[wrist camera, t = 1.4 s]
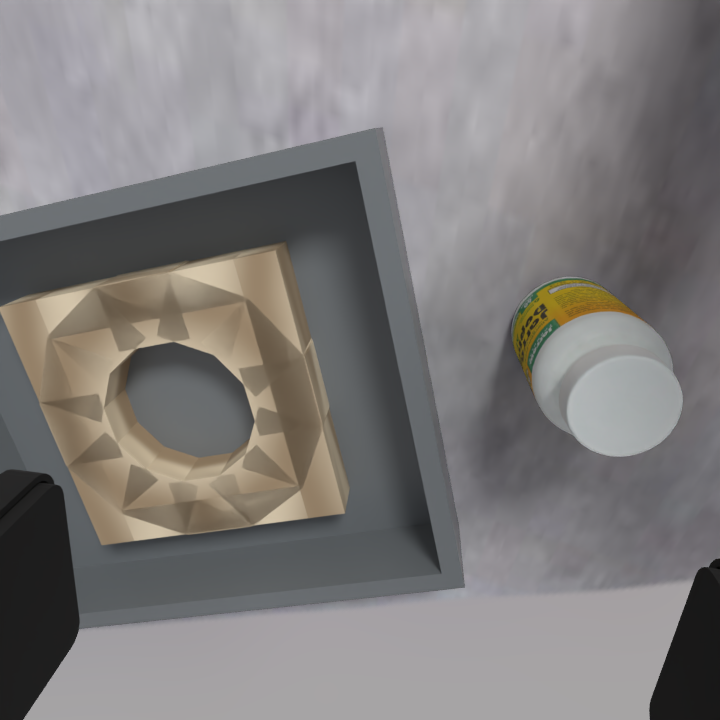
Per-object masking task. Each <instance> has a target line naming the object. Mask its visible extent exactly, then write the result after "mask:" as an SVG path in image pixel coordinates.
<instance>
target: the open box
mask: <svg viewBox="0 0 720 720" xmlns="http://www.w3.org/2000/svg"><path fill="white" fill-rule="evenodd" d="M284 241H286V242H287V246H288V249H289V253H290V257H291V261H292V265H293V269H294V273H295V277H296V281H297V284H298V288H299V292H300V296H301V300H302V304H303V308H304V312H305V316H306V319H307V323H308V327H309V331H310V335H311V338H312V340H313V343H314V347H315V351H316V354H317V358H318V362H319V366H320V370H321V374H322V378H323V382H324V386H325V389H326V393H327V397H328V401H329V409H330V413H331V417H332V420H333V424H334V428H335V432H336V436H337V440H338V444H339V448H340V452H341V455H342V459H343V463H344V467H345V471H346V475H347V479H348V483H349V486H350V490H349V495H348V500H347V505H346V511H345V514H337V515H329V516H322V517H314V518H307V519H299V520H291V521H284V522H276V523H268V524H261V525H254V526H251V527H244V528H236V529H228V530H221V531H213V532H205V533H198V534H190V535H188V534H184V535H176V536H169V537H161V538H153V539H146V540H138V541H131V542H123V543H115V544H108V545H101V542H100V540H99V538H98V535H97V533H96V531H95V529H94V526H93V524H92V522H91V519H90V517H89V515H88V512H87V510H86V508H85V506H84V503H83V501H82V499H81V496H80V494H79V492H78V489H77V487H76V485H75V483H74V480H73V478H72V476H71V473H70V471H69V469H68V466H66V464H65V462H64V459H63V457H62V455H61V452H60V450H59V448H58V446H57V443H56V441H55V439H54V436H53V434H52V432H51V430H50V427H49V425H48V423H47V420H46V418H45V416H44V413H43V411H42V409H41V407H40V404H39V403H40V402H39V400H38V398H37V395H36V393H35V391H34V388H33V386H32V384H31V381H30V379H29V377H28V375H27V372H26V370H25V368H24V365H23V363H22V361H21V358H20V356H19V354H18V352H17V349H16V347H15V345H14V342H13V340H12V338H11V335H10V333H9V331H8V329H7V326H6V324H5V322H4V319H3V317H2V315H1V313H0V474H1V473H3V472H4V471H6V470H10V469H15V470H23V471H31V472H39V473H46V474H48V475H50V476H51V477H52V478H53V480H54V484H55V485H59V486H61V488H62V489H63V493H64V500H65V508H66V515H67V523H68V531H69V539H70V547H71V555H72V563H73V570H74V578H75V586H76V594H77V602H78V610H79V617H80V624H79V629H82V628H91V627H100V626H110V625H119V624H128V623H138V622H147V621H156V620H166V619H175V618H184V617H194V616H203V615H212V614H222V613H231V612H240V611H250V610H259V609H268V608H278V607H287V606H296V605H306V604H315V603H324V602H334V601H343V600H352V599H362V598H371V597H380V596H390V595H399V594H408V593H418V592H427V591H436V590H446V589H455V588H464V587H465V584H464V573H463V563H462V553H461V543H460V533H459V524H458V519H457V514H456V509H455V504H454V498H453V493H452V488H451V483H450V477H449V472H448V467H447V462H446V456H445V451H444V446H443V441H442V436H441V430H440V425H439V420H438V415H437V409H436V404H435V399H434V394H433V388H432V383H431V378H430V373H429V368H428V362H427V357H426V352H425V347H424V341H423V336H422V331H421V326H420V320H419V315H418V310H417V305H416V300H415V294H414V289H413V284H412V279H411V273H410V268H409V263H408V258H407V252H406V247H405V242H404V237H403V231H402V226H401V221H400V216H399V211H398V205H397V200H396V195H395V190H394V184H393V179H392V174H391V169H390V163H389V158H388V153H387V148H386V143H385V137H384V132H383V128H374V129H370V130H366V131H361V132H357V133H353V134H348V135H344V136H340V137H336V138H331V139H327V140H323V141H318V142H314V143H310V144H306V145H301V146H297V147H293V148H288V149H284V150H280V151H276V152H271V153H267V154H263V155H258V156H254V157H250V158H246V159H241V160H237V161H233V162H228V163H224V164H220V165H216V166H211V167H207V168H203V169H198V170H194V171H190V172H186V173H181V174H177V175H173V176H168V177H164V178H160V179H156V180H151V181H147V182H143V183H138V184H134V185H130V186H126V187H121V188H117V189H113V190H108V191H104V192H100V193H96V194H91V195H87V196H83V197H78V198H74V199H70V200H66V201H61V202H57V203H53V204H48V205H44V206H40V207H36V208H31V209H27V210H23V211H18V212H14V213H10V214H6V215H1V216H0V307H1V306H3V305H6V304H8V303H10V302H12V301H15V300H17V299H19V298H22V297H24V296H26V295H29V294H34V293H38V292H43V291H48V290H53V289H58V288H63V287H67V286H72V285H77V284H82V283H87V282H91V281H96V280H101V279H106V278H111V277H115V276H117V275H120V274H125V273H130V272H135V271H139V270H144V269H149V268H154V267H159V266H163V265H168V264H173V263H178V262H183V261H192V260H197V259H202V258H207V257H212V256H216V255H221V254H226V253H231V252H236V251H240V250H245V249H250V248H255V247H260V246H265V245H269V244H274V243H279V242H284ZM125 390H126V393H127V395H128V398H129V401H130V403H131V406H132V409H133V411H134V414H135V416H136V419H137V422H138V423H139V424H140V425H141V426H143V427H144V428H145V429H146V430H147V431H148V432H149V433H150V434H151V435H152V436H153V437H154V438H156V439H157V440H158V441H159V442H160V443H161V444H162V445H163V446H164V447H167V448H170V449H173V450H176V451H179V452H182V453H185V454H188V455H192V456H195V457H198V458H201V457H207V456H214V455H221V454H227V453H233V452H234V451H235V450H236V449H237V448H239V447H240V446H241V445H242V444H244V443H245V442H246V441H247V440H248V439H250V437H251V433H252V430H253V426H254V423H255V420H254V417H253V413H252V410H251V407H250V404H249V400H248V397H247V394H246V390H245V387H244V384H243V383H242V382H241V381H240V380H239V379H238V378H237V377H236V376H235V375H234V374H233V373H232V372H231V371H230V370H229V369H227V368H226V367H225V366H224V365H223V364H222V363H221V362H220V361H219V360H218V359H217V358H216V357H215V356H214V355H212V354H209V353H206V352H203V351H200V350H197V349H194V348H191V347H188V346H185V345H182V344H179V343H176V342H170V343H164V344H159V345H153V346H148V347H143V348H139V349H138V350H137V351H136V352H135V353H134V354H133V355H132V356H131V360H130V366H129V371H128V376H127V382H126V387H125Z"/></svg>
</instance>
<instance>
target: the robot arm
mask: <svg viewBox="0 0 720 720" xmlns="http://www.w3.org/2000/svg"><path fill="white" fill-rule="evenodd" d="M79 624H80V617H79V610H78V602H77V594H76V586H75V578H74V570H73V563H72V555H71V547H70V539H69V531H68V523H67V515H66V508H65V500H64V493H63V489H62V488H61V486H59V485H55V484H54V480H53V478H52V477H51V476H50V475H48V474H46V473H39V472H31V471H23V470H15V469H10V470H6V471H4V472H3V473H1V474H0V720H23V719H24V717H25V716H26V714H27V713H28V711H29V710H30V709H31V707H32V705H33V704H34V702H35V701H36V700H37V698H38V697H39V695H40V694H41V692H42V691H43V689H44V688H45V686H46V685H47V683H48V682H49V680H50V679H51V677H52V676H53V674H54V673H55V671H56V670H57V668H58V667H59V665H60V663H61V662H62V661H63V659H64V658H65V656H66V655H67V653H68V652H69V650H70V649H71V647H72V645H73V644H74V642H75V639H76V637H77V634H78V630H79ZM649 711H650V720H720V559H715V560H714V561H713V562H712V563H711V564H710V566H709V568H708V567H703V568H701V569H699V570H698V572H697V574H696V576H695V579H694V582H693V585H692V588H691V590H690V593H689V596H688V599H687V602H686V604H685V607H684V610H683V612H682V615H681V618H680V621H679V623H678V626H677V629H676V632H675V635H674V637H673V640H672V643H671V646H670V648H669V651H668V654H667V657H666V660H665V662H664V665H663V668H662V670H661V673H660V676H659V679H658V681H657V684H656V687H655V690H654V692H653V695H652V698H651V702H650V710H649Z"/></svg>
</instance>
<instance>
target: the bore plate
mask: <svg viewBox="0 0 720 720" xmlns="http://www.w3.org/2000/svg"><path fill="white" fill-rule="evenodd" d="M0 313H1V315H2V317H3V319H4V322H5V324H6V326H7V329H8V331H9V333H10V335H11V338H12V340H13V342H14V345H15V347H16V349H17V352H18V354H19V356H20V358H21V361H22V363H23V365H24V368H25V370H26V372H27V375H28V377H29V379H30V381H31V384H32V386H33V388H34V391H35V393H36V395H37V398H38V400H39V402H40V403H39V404H40V407H41V409H42V411H43V413H44V416H45V418H46V420H47V423H48V425H49V427H50V430H51V432H52V434H53V436H54V439H55V441H56V443H57V446H58V448H59V450H60V452H61V455H62V457H63V459H64V462H65V464H66V466H68V469H69V471H70V473H71V476H72V478H73V480H74V483H75V485H76V487H77V489H78V492H79V494H80V496H81V499H82V501H83V503H84V506H85V508H86V510H87V512H88V515H89V517H90V519H91V522H92V524H93V526H94V529H95V531H96V533H97V535H98V538H99V540H100V542H101V545H108V544H115V543H123V542H131V541H138V540H146V539H153V538H161V537H169V536H176V535H184V534H188V535H190V534H198V533H205V532H213V531H221V530H228V529H236V528H244V527H251V526H254V525H261V524H268V523H276V522H284V521H291V520H299V519H307V518H314V517H322V516H329V515H337V514H345V511H346V505H347V500H348V495H349V490H350V486H349V483H348V479H347V475H346V471H345V467H344V463H343V459H342V455H341V452H340V448H339V444H338V440H337V436H336V432H335V428H334V424H333V420H332V417H331V413H330V409H329V401H328V397H327V393H326V389H325V386H324V382H323V378H322V374H321V370H320V366H319V362H318V358H317V354H316V351H315V347H314V343H313V340H312V338H311V335H310V331H309V327H308V323H307V319H306V316H305V312H304V308H303V304H302V300H301V296H300V292H299V288H298V284H297V281H296V277H295V273H294V269H293V265H292V261H291V257H290V253H289V249H288V246H287V242H286V241H284V242H279V243H274V244H269V245H265V246H260V247H255V248H250V249H245V250H240V251H236V252H231V253H226V254H221V255H216V256H212V257H207V258H202V259H197V260H192V261H183V262H178V263H173V264H168V265H163V266H159V267H154V268H149V269H144V270H139V271H135V272H130V273H125V274H120V275H117V276H115V277H111V278H106V279H101V280H96V281H91V282H87V283H82V284H77V285H72V286H67V287H63V288H58V289H53V290H48V291H43V292H38V293H34V294H29V295H26V296H24V297H22V298H19V299H17V300H15V301H12V302H10V303H8V304H6V305H3V306H1V307H0ZM170 342H176V343H179V344H182V345H185V346H188V347H191V348H194V349H197V350H200V351H203V352H206V353H209V354H212V355H214V356H215V357H216V358H217V359H218V360H219V361H220V362H221V363H222V364H223V365H224V366H225V367H226V368H227V369H229V370H230V371H231V372H232V373H233V374H234V375H235V376H236V377H237V378H238V379H239V380H240V381H241V382H242V383H243V384H244V387H245V390H246V394H247V397H248V400H249V404H250V407H251V410H252V413H253V417H254V420H255V423H254V426H253V430H252V433H251V437H250V439H248V440H247V441H246V442H245V443H244V444H242V445H241V446H240V447H239V448H237V449H236V450H235V451H234V452H233V453H227V454H221V455H214V456H207V457H201V458H198V457H195V456H192V455H188V454H185V453H182V452H179V451H176V450H173V449H170V448H167V447H164V446H163V445H162V444H161V443H160V442H159V441H158V440H157V439H156V438H154V437H153V436H152V435H151V434H150V433H149V432H148V431H147V430H146V429H145V428H144V427H143V426H141V425H140V424H139V423H138V422H137V419H136V416H135V414H134V411H133V409H132V406H131V403H130V401H129V398H128V395H127V393H126V390H125V387H126V382H127V376H128V371H129V366H130V360H131V356H132V355H133V354H134V353H135V352H136V351H137V350H138V349H139V348H143V347H148V346H153V345H159V344H164V343H170Z"/></svg>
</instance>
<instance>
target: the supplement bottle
mask: <svg viewBox="0 0 720 720" xmlns="http://www.w3.org/2000/svg"><path fill="white" fill-rule="evenodd" d="M511 336H512V343H513V346H514V349H515V352H516V355H517V357H518V360H519V362H520V364H521V366H522V369H523V371H524V373H525V376H526V378H527V381H528V383H529V385H530V388H531V390H532V392H533V395H534V397H535V399H536V401H537V403H538V405H539V407H540V409H541V410H542V412H543V413H544V415H545V416H546V417H547V418H548V419H549V420H550V421H551V422H552V423H553V424H554V425H556V426H557V427H558V428H560V429H561V430H563V431H565V432H567V433H569V434H571V435H573V436H574V437H575V438H576V439H577V440H578V442H580V443H581V444H582V445H583V446H584V447H586V448H587V449H589V450H591V451H593V452H595V453H598V454H601V455H606V456H611V457H625V456H633V455H636V454H639V453H642V452H645V451H647V450H649V449H651V448H653V447H655V446H657V445H658V444H659V443H661V442H662V441H663V440H664V439H666V438H667V437H668V435H669V434H670V433H671V432H672V431H673V429H674V427H675V426H676V424H677V422H678V420H679V418H680V415H681V412H682V406H683V394H682V390H681V387H680V384H679V382H678V380H677V378H676V376H675V375H674V374H673V363H672V358H671V355H670V352H669V350H668V347H667V345H666V343H665V342H664V340H663V339H662V338H661V336H660V335H659V334H658V333H657V332H656V331H655V330H654V329H653V328H652V327H651V326H650V325H649V324H647V323H646V322H645V321H644V320H643V319H641V318H640V317H639V316H638V315H636V314H635V313H634V312H633V311H632V310H630V309H629V308H628V307H627V306H626V305H624V304H623V303H622V302H621V301H620V300H619V299H617V298H616V297H615V296H614V295H612V294H611V293H610V292H609V291H607V290H606V289H605V288H604V287H602V286H601V285H599V284H598V283H596V282H594V281H591V280H589V279H585V278H580V277H560V278H556V279H553V280H550V281H548V282H545V283H543V284H542V285H540V286H538V287H537V288H535V289H534V290H532V291H531V292H530V293H529V294H528V295H527V296H526V297H525V298H524V299H523V300H522V301H521V303H520V304H519V306H518V308H517V310H516V312H515V315H514V318H513V321H512V328H511Z"/></svg>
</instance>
